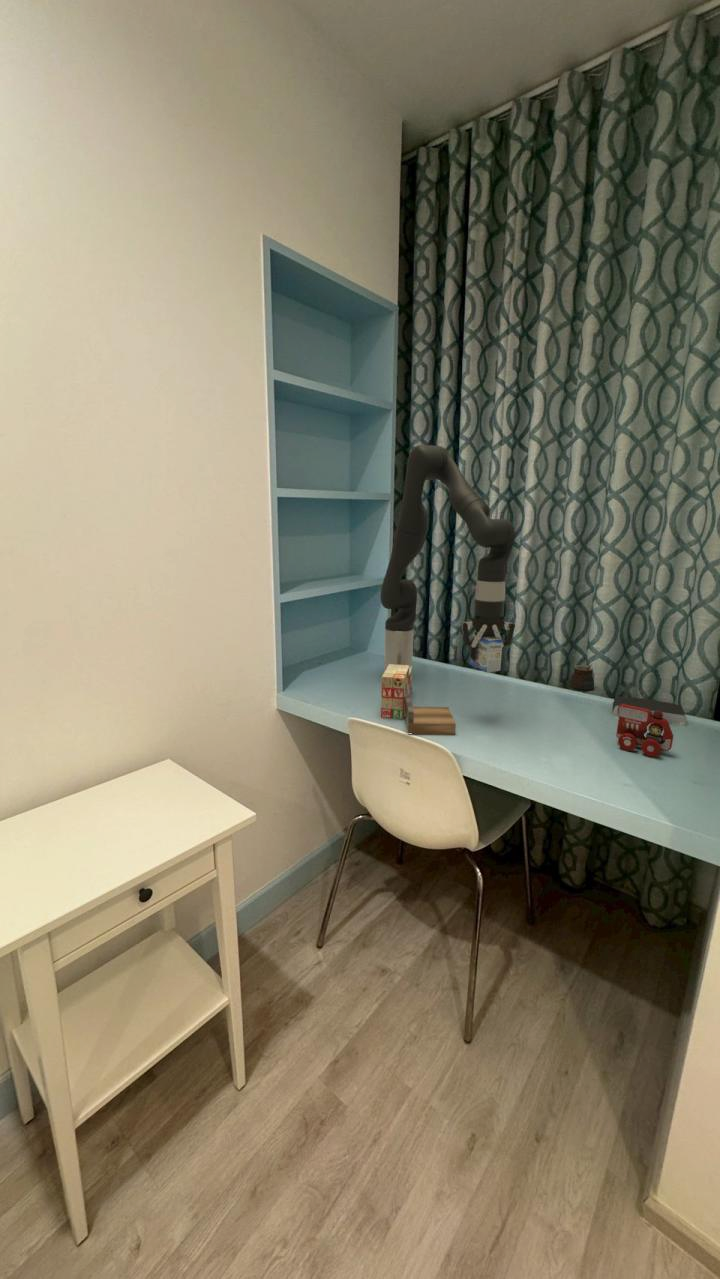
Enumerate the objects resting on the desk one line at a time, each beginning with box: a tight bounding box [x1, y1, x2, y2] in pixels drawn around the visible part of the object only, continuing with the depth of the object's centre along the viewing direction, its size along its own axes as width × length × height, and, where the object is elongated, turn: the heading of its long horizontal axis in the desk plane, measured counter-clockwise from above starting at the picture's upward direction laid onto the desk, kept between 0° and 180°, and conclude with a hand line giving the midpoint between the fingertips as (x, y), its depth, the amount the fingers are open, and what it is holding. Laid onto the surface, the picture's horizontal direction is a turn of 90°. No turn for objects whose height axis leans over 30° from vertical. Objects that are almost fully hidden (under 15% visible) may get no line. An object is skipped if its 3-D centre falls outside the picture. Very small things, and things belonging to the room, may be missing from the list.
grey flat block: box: [611, 696, 687, 727], centre depth 151 cm, size 12×18×4 cm
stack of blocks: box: [380, 664, 413, 720], centre depth 156 cm, size 21×6×12 cm, turn 168°
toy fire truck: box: [615, 704, 674, 758], centre depth 129 cm, size 7×12×10 cm, turn 52°
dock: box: [404, 696, 457, 736], centre depth 142 cm, size 12×12×6 cm
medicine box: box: [469, 634, 504, 673], centre depth 142 cm, size 8×4×9 cm, turn 23°
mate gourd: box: [569, 664, 595, 692], centre depth 170 cm, size 7×8×10 cm
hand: (485, 660), depth 143 cm, fingers closed on medicine box, 5 cm apart
